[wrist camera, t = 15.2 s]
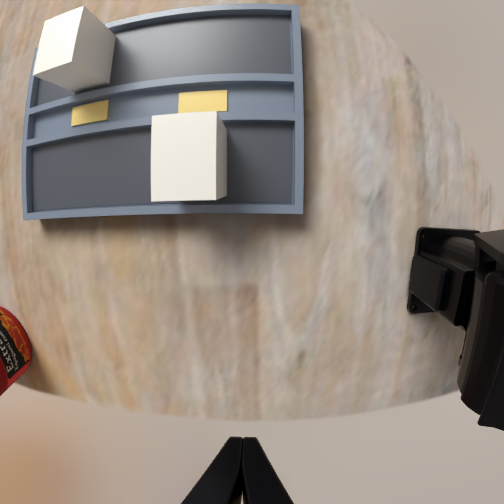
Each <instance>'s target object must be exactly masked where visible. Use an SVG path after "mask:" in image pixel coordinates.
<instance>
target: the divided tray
mask: <svg viewBox="0 0 504 504" xmlns="http://www.w3.org/2000/svg"><path fill="white" fill-rule="evenodd" d="M104 25H105V26H106V27H107V28H108V29H109V30H111V31H112V32H113V33H114V34H115V35H116V40H115V46H114V52H113V60H112V67H111V75H110V84H108V85H103V86H98V87H94V88H90V89H86V90H81V91H77V92H72V91H70V90H68V89H65V88H63V87H60V86H58V85H56V84H53V83H51V82H48V81H46V80H43V79H41V78H38V77H36V76H33V71H34V66H35V61H36V56H37V52H38V47H37V48H36V49H35V54H34V58H33V63H32V68H31V74H30V79H29V85H28V92H27V99H26V107H25V117H24V128H23V143H22V205H23V220H36V219H52V218H69V217H89V216H113V215H143V214H195V213H267V214H303V189H304V110H303V72H302V47H301V28H300V12H299V5H286V4H222V5H208V6H197V7H188V8H180V9H172V10H166V11H160V12H154V13H149V14H143V15H138V16H134V17H129V18H125V19H121V20H117V21H113V22H109V23H105V24H104ZM207 111H217V113H218V114H219V116H220V118H221V120H222V121H223V123H224V125H225V127H226V129H227V196H225V197H222V198H220V199H217V200H187V201H152V202H151V127H152V116H155V115H165V114H176V113H189V112H207Z"/></svg>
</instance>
